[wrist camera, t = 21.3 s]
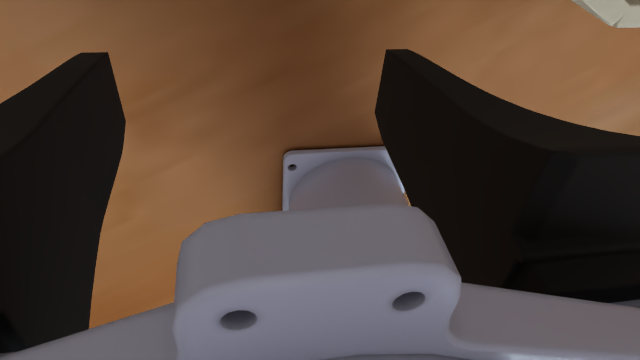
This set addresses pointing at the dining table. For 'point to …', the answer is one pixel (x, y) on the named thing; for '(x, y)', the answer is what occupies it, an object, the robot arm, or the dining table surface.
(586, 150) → the robot arm
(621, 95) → the dining table surface
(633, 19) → the ivory ring
